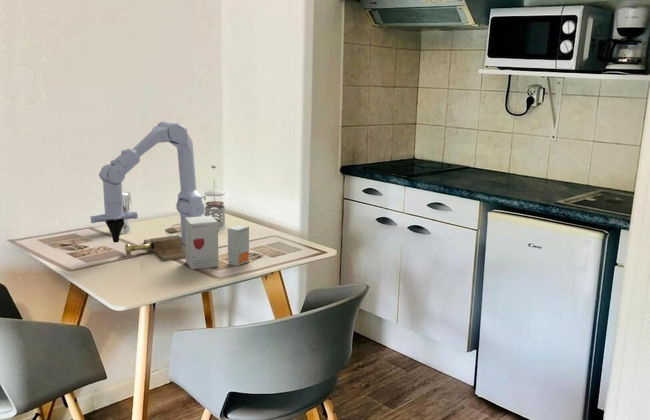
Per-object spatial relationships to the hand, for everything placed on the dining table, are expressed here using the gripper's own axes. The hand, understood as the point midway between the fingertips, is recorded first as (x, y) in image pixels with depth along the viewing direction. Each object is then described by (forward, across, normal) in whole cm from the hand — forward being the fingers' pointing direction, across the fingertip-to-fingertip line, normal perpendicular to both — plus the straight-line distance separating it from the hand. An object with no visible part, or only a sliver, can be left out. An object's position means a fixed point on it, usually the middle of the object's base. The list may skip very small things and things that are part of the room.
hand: (115, 241), depth 196 cm
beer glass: (+5, +9, +30) cm, 32 cm away
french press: (+5, +42, +22) cm, 48 cm away
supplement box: (+5, +22, -21) cm, 31 cm away
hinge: (+5, +17, 0) cm, 17 cm away
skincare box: (+5, +33, -25) cm, 42 cm away
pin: (+5, +8, 0) cm, 10 cm away
